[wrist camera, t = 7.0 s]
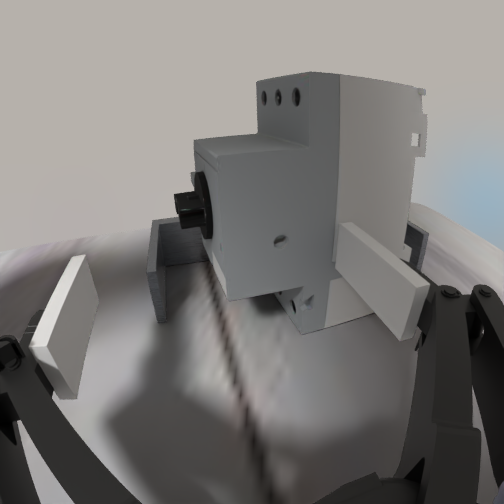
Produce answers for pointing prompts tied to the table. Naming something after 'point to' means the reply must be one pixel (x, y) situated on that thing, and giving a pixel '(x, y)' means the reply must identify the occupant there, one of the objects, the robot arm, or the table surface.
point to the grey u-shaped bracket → (192, 250)
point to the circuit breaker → (307, 190)
